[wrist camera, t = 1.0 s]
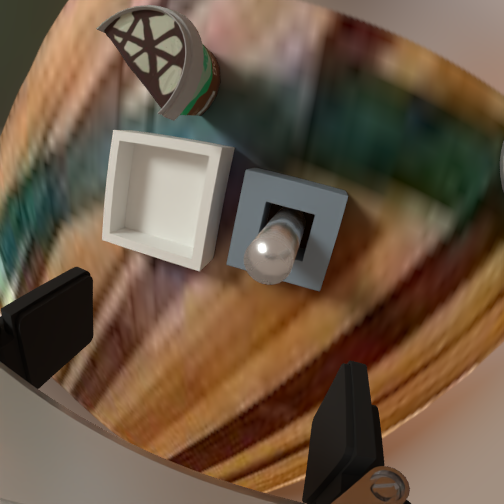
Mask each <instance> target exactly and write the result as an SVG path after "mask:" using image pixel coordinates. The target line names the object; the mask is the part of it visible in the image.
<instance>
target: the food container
mask: <svg viewBox="0 0 504 504" xmlns="http://www.w3.org/2000/svg"><path fill="white" fill-rule="evenodd" d="M97 30H99V31H102V32H104V33H106V35H107V36H108V37H109V38H110V39H111V41H112V42H113V43H114V45H115V46H116V48H117V49H118V51H119V52H120V53H121V55H122V57H123V58H124V60H125V61H126V63H127V64H128V66H129V67H130V68H131V70H132V71H133V72H134V73H135V74H136V76H137V77H138V78H139V79H140V81H141V82H142V83H143V84H144V86H145V87H146V88H147V90H148V91H149V92H150V94H151V95H152V96H153V98H154V99H155V101H156V102H157V103H158V105H159V106H160V107H161V110H160V111H159V112H158V114H162V115H163V116H164V117H166V118H168V119H171V120H175V119H176V118H177V117H178V116H179V115H197V116H201V115H202V114H203V113H204V112H205V111H206V110H207V109H208V108H209V107H210V105H211V104H212V102H213V100H214V99H215V97H216V96H217V92H218V89H219V85H220V68H219V65H218V63H217V60H216V58H215V57H214V56H213V54H212V53H211V52H210V51H209V50H208V49H207V48H206V47H205V46H204V45H203V44H202V41H201V37H200V35H199V33H198V31H197V29H196V28H195V26H194V25H193V24H192V22H191V21H190V20H189V19H187V18H186V17H185V16H184V15H182V14H180V13H178V12H176V11H173V10H170V9H167V8H163V7H160V6H152V5H147V6H135V7H131V8H127V9H125V10H122V11H120V12H118V13H116V14H114V15H113V16H111V17H110V18H108V19H107V20H106V21H104V22H103V23H102V24H101V25H100V26H99V27H98V28H97Z"/></svg>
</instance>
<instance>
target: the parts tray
mask: <svg viewBox="0 0 504 504" xmlns="http://www.w3.org/2000/svg"><path fill="white" fill-rule="evenodd" d="M234 149H235V148H234V147H229V146H224V145H219V144H214V143H209V142H203V141H197V140H192V139H186V138H180V137H174V136H167V135H161V134H154V133H147V132H140V131H127V130H113V136H112V143H111V150H110V157H109V165H108V173H107V183H106V193H105V204H104V217H103V233H102V240H104V241H107V242H110V243H113V244H116V245H119V246H122V247H125V248H128V249H131V250H134V251H137V252H140V253H143V254H146V255H149V256H153V257H156V258H159V259H162V260H165V261H168V262H171V263H174V264H178V265H181V266H184V267H187V268H190V269H193V270H197V271H201V270H202V269H203V268H204V267H205V266H206V265H207V264H208V263H209V262H210V261H211V260H212V259H213V257H214V252H215V246H216V241H217V235H218V230H219V225H220V219H221V214H222V209H223V204H224V198H225V193H226V188H227V183H228V178H229V173H230V168H231V163H232V159H233V154H234Z"/></svg>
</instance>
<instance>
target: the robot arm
mask: <svg viewBox="0 0 504 504" xmlns="http://www.w3.org/2000/svg"><path fill="white" fill-rule="evenodd" d="M500 177H501V183H502V188H503V192H504V142H503V146H502V150H501V157H500ZM1 313H2V316H1V317H0V504H305V503H307V504H411V503H410V502H409V501H407V500H406V499H407V498H408V496H409V491H410V487H409V483H408V481H407V479H406V477H405V476H404V475H403V474H402V473H401V472H400V471H398V470H396V469H395V468H391V467H388V466H384V456H383V445H382V436H381V427H380V419H379V411H378V407H377V406H375V405H371V397H370V389H369V381H368V373H367V367H366V365H365V364H362V363H358V362H354V361H349V362H348V364H344V363H343V364H342V365H341V367H340V369H339V371H338V373H337V375H336V377H335V379H334V381H333V383H332V385H331V387H330V389H329V390H328V392H327V394H326V396H325V398H324V400H323V402H322V404H321V405H320V407H319V409H318V411H317V413H316V414H315V416H314V419H313V422H312V428H311V437H310V446H309V454H308V462H307V470H306V477H305V484H304V491H303V498H302V501H303V503H301V502H297V501H293V500H289V499H285V498H282V497H278V496H274V495H270V494H266V493H263V492H259V491H255V490H252V489H248V488H245V487H242V486H238V485H235V484H232V483H229V482H226V481H223V480H220V479H217V478H214V477H211V476H208V475H205V474H202V473H199V472H197V471H194V470H191V469H189V468H186V467H183V466H181V465H178V464H176V463H173V462H171V461H168V460H166V459H164V458H161V457H159V456H157V455H155V454H152V453H150V452H148V451H146V450H143V449H141V448H139V447H137V446H135V445H133V444H131V443H129V442H127V441H125V440H123V439H121V438H119V437H117V436H115V435H113V434H111V433H109V432H107V431H105V430H103V429H102V428H100V427H98V426H96V425H94V424H92V423H91V422H89V421H87V420H86V419H84V418H82V417H80V416H79V415H77V414H75V413H74V412H72V411H71V410H69V409H67V408H66V407H64V406H62V405H61V404H59V403H58V402H56V401H55V400H53V399H51V398H50V397H48V396H47V395H45V394H44V393H42V392H41V391H40V390H38V388H40V387H41V386H42V385H43V384H44V383H45V382H46V381H47V380H49V379H50V378H51V377H52V376H53V375H54V374H55V373H56V372H58V371H59V370H60V369H61V368H62V367H63V366H64V365H65V364H66V363H68V362H69V361H70V360H71V359H72V358H73V357H74V356H75V355H77V354H78V353H79V352H80V351H81V350H82V349H83V348H84V347H86V346H87V345H88V344H89V343H90V342H91V340H92V338H93V279H92V277H91V276H90V273H89V272H88V271H86V270H83V269H81V268H79V267H74V268H72V269H70V270H68V271H67V272H65V273H63V274H61V275H59V276H57V277H56V278H54V279H52V280H50V281H48V282H46V283H45V284H43V285H41V286H39V287H38V288H36V289H34V290H32V291H30V292H29V293H27V294H25V295H23V296H22V297H20V298H18V299H17V300H15V301H13V302H11V303H10V304H8V305H6V306H5V307H3V308H1Z"/></svg>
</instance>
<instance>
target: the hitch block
mask: <svg viewBox="0 0 504 504" xmlns="http://www.w3.org/2000/svg"><path fill="white" fill-rule="evenodd" d="M347 199H348V195H347V193H346V191H344V190H341V189H337V188H334V187H330V186H327V185H323V184H319V183H316V182H312V181H308V180H304V179H301V178H297V177H293V176H289V175H285V174H281V173H277V172H273V171H268V170H264V169H260V168H251V169H247V170H246V171H245V176H244V181H243V185H242V190H241V195H240V200H239V205H238V209H237V214H236V219H235V224H234V229H233V234H232V239H231V244H230V249H229V254H228V259H227V264H226V265H229V266H233V267H236V268H240V269H243V270H246V268H245V265H244V254H245V251H246V249H247V247H248V246H249V245H250V244H251V242H252V241H253V240H254V239H255V238H256V236H257V235H258V234H259V233H260V232H261V231H262V229H263V228H264V227H265V226H266V225H267V221H268V216H269V212H270V208H271V203H273V204H277V205H281V206H285V207H289V208H292V209H296V210H300V211H304V212H307V213H311V214H314V215H315V216H314V220H313V224H312V227H311V231H310V235H309V238H308V242H307V245H306V249H304V248H300V247H299V248H298V251H297V254H296V257H295V261H294V264H293V267H292V270H291V272H290V274H289V275H288V277H287V278H286V279H285V280H283V281H285V282H288V283H292V284H295V285H299V286H302V287H306V288H309V289H313V290H316V291H320V289H321V286H322V283H323V280H324V277H325V274H326V270H327V267H328V264H329V261H330V258H331V254H332V251H333V248H334V244H335V241H336V238H337V234H338V231H339V227H340V224H341V220H342V217H343V213H344V210H345V206H346V202H347Z"/></svg>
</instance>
